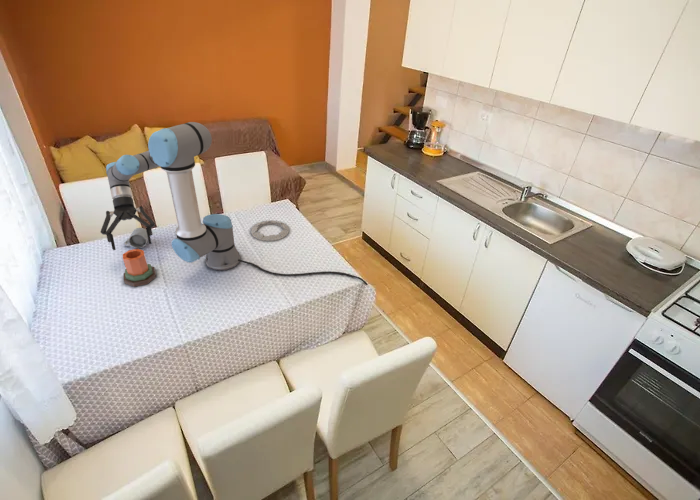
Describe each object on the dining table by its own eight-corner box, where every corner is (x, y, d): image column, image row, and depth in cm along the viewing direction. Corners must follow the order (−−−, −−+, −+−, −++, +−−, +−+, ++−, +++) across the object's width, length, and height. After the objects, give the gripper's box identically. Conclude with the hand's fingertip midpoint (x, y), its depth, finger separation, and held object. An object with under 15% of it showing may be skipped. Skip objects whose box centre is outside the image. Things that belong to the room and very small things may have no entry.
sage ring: (157, 269, 164) (156, 266, 163) (140, 283, 156) (138, 279, 155) (138, 264, 167) (137, 260, 165) (120, 277, 159) (119, 273, 158)
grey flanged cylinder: (151, 238, 187) (147, 225, 182) (148, 247, 180) (144, 234, 176) (127, 240, 184) (122, 227, 180) (123, 250, 178) (118, 236, 173)
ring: (292, 224, 207) (292, 221, 206) (283, 243, 191) (283, 240, 190) (258, 219, 208) (258, 216, 207) (246, 238, 192) (245, 235, 191)
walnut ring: (162, 272, 166) (161, 269, 165) (141, 289, 157) (140, 285, 155) (139, 265, 169) (138, 262, 168) (118, 281, 159) (116, 278, 158)
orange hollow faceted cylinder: (152, 266, 163) (148, 251, 158) (138, 277, 156) (133, 261, 152) (137, 262, 164) (133, 247, 160) (123, 272, 158) (118, 257, 154)
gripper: (155, 197, 170) (165, 242, 168) (90, 205, 160) (100, 253, 158) (153, 191, 163) (163, 238, 161) (85, 200, 153) (95, 250, 151)
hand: (132, 246), depth 159 cm, fingers open, 13 cm apart
